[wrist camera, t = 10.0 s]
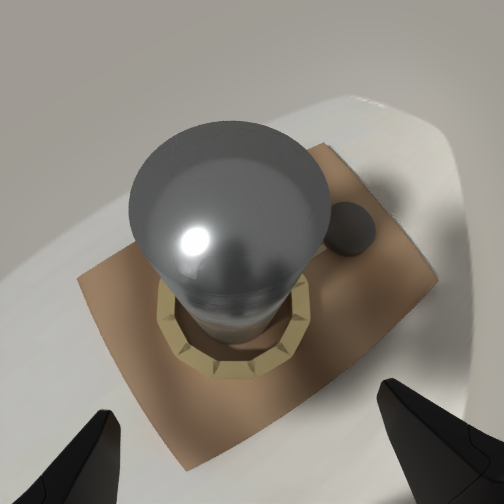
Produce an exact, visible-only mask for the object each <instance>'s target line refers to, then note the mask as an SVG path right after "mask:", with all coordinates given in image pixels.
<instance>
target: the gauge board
mask: <svg viewBox="0 0 504 504" xmlns="http://www.w3.org/2000/svg"><path fill="white" fill-rule="evenodd" d="M307 151H308V152H309V153H310V154H311V155H312V157H313V158H314V159H315V161H316V162H317V163H318V165H319V166H320V168H321V170H322V172H323V174H324V176H325V178H326V181H327V184H328V187H329V191H330V196H331V216H330V222H329V226H328V230H327V232H326V235H325V237H324V239H323V242H322V243H321V245H320V247H319V248H318V250H317V251H316V253H315V255H314V256H313V258H312V259H311V261H310V262H309V264H308V265H307V267H306V269H305V270H304V272H303V275H304V276H305V278H306V279H307V282H308V287H309V302H310V317H311V320H310V323H309V325H308V327H307V329H306V331H305V333H304V335H303V337H302V339H301V341H300V343H299V345H298V347H297V349H296V350H295V352H294V354H293V356H292V357H291V358H290V359H288V360H287V361H285V362H284V363H282V364H280V365H279V366H277V367H275V368H274V369H272V370H270V371H269V372H267V373H265V374H264V375H262V376H260V377H259V378H257V379H256V378H255V379H239V380H226V379H211V378H209V377H207V376H206V375H204V374H202V373H201V372H199V371H197V370H196V369H194V368H192V367H191V366H189V365H187V364H186V363H184V362H182V361H181V360H179V359H178V358H176V357H175V355H174V353H173V351H172V350H171V348H170V346H169V344H168V342H167V340H166V338H165V336H164V334H163V333H162V331H161V329H160V327H159V325H158V323H157V302H158V287H159V282H160V279H161V277H160V276H159V274H158V273H157V272H156V270H155V269H154V268H153V266H152V265H151V264H150V262H149V261H148V260H147V258H146V257H145V256H144V254H143V253H142V251H141V250H140V248H139V247H138V245H137V242H136V241H135V242H134V243H132V244H130V245H129V246H127V247H125V248H124V249H122V250H121V251H119V252H117V253H116V254H114V255H112V256H111V257H109V258H108V259H106V260H104V261H103V262H101V263H100V264H98V265H97V266H95V267H94V268H92V269H90V270H89V271H87V272H86V273H84V274H83V275H81V276H80V277H78V278H77V280H78V283H79V285H80V288H81V290H82V293H83V295H84V298H85V300H86V302H87V305H88V307H89V309H90V312H91V314H92V316H93V318H94V321H95V323H96V325H97V327H98V329H99V331H100V334H101V336H102V338H103V340H104V342H105V344H106V346H107V348H108V350H109V352H110V354H111V356H112V357H113V359H114V361H115V363H116V365H117V367H118V369H119V371H120V372H121V374H122V376H123V378H124V380H125V381H126V383H127V385H128V387H129V388H130V390H131V392H132V393H133V395H134V397H135V398H136V400H137V402H138V403H139V405H140V406H141V408H142V410H143V411H144V413H145V414H146V416H147V418H148V419H149V421H150V422H151V424H152V425H153V427H154V428H155V430H156V431H157V433H158V434H159V435H160V437H161V438H162V440H163V441H164V443H165V444H166V445H167V447H168V448H169V450H170V451H171V452H172V454H173V455H174V456H175V458H176V459H177V460H178V462H179V463H180V464H181V465H182V467H183V468H184V469H185V471H186V472H187V471H189V470H191V469H193V468H195V467H197V466H199V465H201V464H203V463H205V462H207V461H209V460H210V459H212V458H214V457H216V456H218V455H220V454H222V453H223V452H225V451H227V450H229V449H231V448H232V447H234V446H236V445H237V444H239V443H241V442H243V441H244V440H246V439H248V438H249V437H251V436H253V435H254V434H256V433H257V432H259V431H261V430H262V429H264V428H265V427H267V426H268V425H270V424H272V423H273V422H275V421H276V420H278V419H279V418H281V417H282V416H284V415H285V414H287V413H288V412H290V411H291V410H292V409H294V408H295V407H297V406H298V405H300V404H301V403H302V402H304V401H305V400H307V399H308V398H309V397H311V396H312V395H313V394H315V393H316V392H317V391H319V390H320V389H321V388H323V387H324V386H325V385H327V384H328V383H329V382H330V381H332V380H333V379H334V378H336V377H337V376H338V375H339V374H341V373H342V372H343V371H344V370H346V369H347V368H348V367H349V366H350V365H352V364H353V363H354V362H355V361H356V360H358V359H359V358H360V357H361V356H362V355H363V354H365V353H366V352H367V351H368V350H369V349H370V348H371V347H373V346H374V345H375V344H376V343H377V342H378V341H379V340H380V339H381V338H383V337H384V336H385V335H386V334H387V333H388V332H389V331H390V330H391V329H392V328H393V327H394V326H395V325H396V324H397V323H398V322H400V321H401V320H402V319H403V318H404V317H405V316H406V315H407V314H408V313H409V312H410V311H411V310H412V309H413V308H414V307H415V306H416V305H417V304H418V303H419V301H420V300H421V299H422V298H423V297H424V296H425V295H426V294H427V293H428V292H429V291H430V290H431V289H432V288H433V287H434V286H435V284H436V283H437V282H438V279H437V278H436V276H435V275H434V273H433V272H432V270H431V269H430V268H429V266H428V265H427V263H426V262H425V261H424V259H423V258H422V256H421V255H420V254H419V252H418V251H417V250H416V248H415V247H414V246H413V244H412V243H411V242H410V240H409V239H408V238H407V237H406V235H405V234H404V233H403V231H402V230H401V229H400V228H399V226H398V225H397V224H396V223H395V221H394V220H393V219H392V218H391V216H390V215H389V214H388V213H387V212H386V210H385V209H384V208H383V207H382V206H381V204H380V203H379V202H378V201H377V200H376V198H375V197H374V196H373V195H372V194H371V193H370V192H369V190H368V189H367V188H366V187H365V186H364V185H363V184H362V183H361V181H360V180H359V179H358V178H357V177H356V176H355V175H354V174H353V173H352V171H351V170H350V169H349V168H348V167H347V166H346V165H345V164H344V163H343V162H342V161H341V160H340V159H339V158H338V157H337V156H336V155H335V154H334V152H333V151H332V150H331V149H330V148H329V147H328V146H327V145H326V144H325V143H324V142H323V143H321V144H319V145H317V146H315V147H313V148H310V149H308V150H307ZM178 321H179V323H180V325H181V327H182V328H183V330H184V332H185V334H186V336H187V338H188V339H189V341H190V343H191V345H192V346H193V347H195V348H196V349H198V350H200V351H201V352H203V353H205V354H206V355H208V356H210V357H211V358H213V359H215V360H217V361H251V360H253V359H254V358H256V357H258V356H260V355H261V354H263V353H265V352H266V351H268V350H270V349H271V348H273V347H275V346H276V344H277V342H278V340H279V338H280V336H281V334H282V333H283V331H284V329H285V327H286V325H287V323H288V321H289V307H288V296H287V298H286V299H285V301H284V302H283V304H282V305H281V307H280V308H279V310H278V311H277V312H276V314H275V315H274V317H273V318H272V320H271V321H270V323H269V324H268V326H267V327H266V329H265V330H264V331H263V332H262V333H261V334H260V335H259V336H258V337H257V338H255V339H254V340H252V341H250V342H248V343H244V344H240V345H227V344H223V343H220V342H218V341H216V340H214V339H212V338H211V337H209V336H208V335H207V334H206V333H205V332H204V330H203V329H202V328H201V327H200V326H199V325H198V323H197V322H196V321H195V320H194V319H193V317H192V316H191V315H190V314H189V312H188V311H187V310H186V309H185V307H184V306H183V305H182V304H181V303H180V301H179V309H178Z"/></svg>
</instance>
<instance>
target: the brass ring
mask: <svg viewBox="0 0 504 504" xmlns="http://www.w3.org/2000/svg"><path fill="white" fill-rule="evenodd" d="M288 307H289V321H288V323H287V325H286V327H285V329H284V331H283V333H282V334H281V336H280V338H279V340H278V342H277V344H276V346H275V347H273V348H271V349H270V350H268V351H266V352H265V353H263V354H261V355H260V356H258V357H256V358H254V359H253V360H251V361H217V360H215V359H213V358H211V357H210V356H208V355H206V354H205V353H203V352H201V351H200V350H198V349H196V348H195V347H193V346H192V345H191V343H190V341H189V339H188V338H187V336H186V334H185V332H184V330H183V328H182V327H181V325H180V323H179V321H178V309H179V300H178V299H177V298H176V296H175V295H174V294H173V292H172V291H171V290H170V289H169V287H168V286H167V285H166V283H165V282H164V281H163V280H162V278H161V279H160V282H159V287H158V302H157V323H158V325H159V327H160V329H161V331H162V333H163V334H164V336H165V338H166V340H167V342H168V344H169V346H170V348H171V350H172V351H173V353H174V355H175V357H176V358H178V359H179V360H181V361H182V362H184V363H186V364H187V365H189V366H191V367H192V368H194V369H196V370H197V371H199V372H201V373H202V374H204V375H206V376H207V377H209V378H211V379H226V380H239V379H255V378H256V379H257V378H259V377H260V376H262V375H264V374H265V373H267V372H269V371H270V370H272V369H274V368H275V367H277V366H279V365H280V364H282V363H284V362H285V361H287V360H288V359H290V358H291V357H292V356H293V354H294V352H295V350H296V349H297V347H298V345H299V343H300V341H301V339H302V337H303V335H304V333H305V331H306V329H307V327H308V325H309V323H310V320H311V317H310V302H309V287H308V282H307V279H306V278H305V276H304V275H303V273H302V275H301V276H300V278H299V279H298V281H297V282H296V284H295V285H294V287H293V289H292V290H291V292H290V293H289V295H288Z"/></svg>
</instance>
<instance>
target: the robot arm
mask: <svg viewBox="0 0 504 504" xmlns="http://www.w3.org/2000/svg"><path fill="white" fill-rule="evenodd" d="M377 403H378V406H379V409H380V412H381V415H382V419H383V422H384V425H385V428H386V432H387V435H388V437H389V440H390V442H391V444H392V447H393V449H394V451H395V453H396V456H397V458H398V460H399V463H400V465H401V467H402V470H403V472H404V474H405V477H406V479H407V481H408V484H409V486H410V489H411V491H412V494H413V496H414V498H415V501H416V503H417V504H504V442H503V441H500V440H498V439H496V438H493V437H491V436H489V435H487V434H485V433H483V432H482V431H480V430H478V429H476V428H474V427H473V426H471V425H469V424H467V423H466V422H464V421H463V420H461V419H459V418H458V417H456V416H454V415H453V414H451V413H449V412H448V411H446V410H444V409H443V408H441V407H439V406H438V405H436V404H435V403H433V402H431V401H430V400H428V399H426V398H425V397H423V396H422V395H420V394H418V393H417V392H415V391H414V390H412V389H410V388H409V387H407V386H406V385H404V384H402V383H401V382H399V381H398V380H396V379H394V378H390V379H386V380H383V381H382V382H381V385H380V388H379V391H378V394H377ZM120 437H121V428H120V424H119V422H118V421H117V419H116V417H115V415H114V414H113V412H112V411H111V410H103V409H102V410H99V411H98V412H97V413H96V414H95V415H94V416H93V417H92V418H91V419H90V421H89V422H88V423H87V424H86V425H85V426H84V427H83V428H82V430H81V431H80V432H79V433H78V434H77V435H76V436H75V437H74V438H73V440H72V441H71V442H70V443H69V444H68V445H67V446H66V447H65V449H64V450H63V451H62V452H61V453H60V454H59V455H58V456H57V458H56V459H55V460H54V461H53V462H52V463H51V464H50V465H49V467H48V468H47V469H46V470H45V471H44V472H43V473H42V475H41V476H40V477H39V478H38V479H37V480H36V481H35V482H34V483H33V484H32V485H31V487H30V488H29V489H28V490H27V491H26V492H24V493H23V494H22V495H21V496H20V497H19V498H18V499H17V500H16V501H15V502H13V503H12V504H116V502H117V492H118V482H119V473H120Z"/></svg>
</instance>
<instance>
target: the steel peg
mask: <svg viewBox="0 0 504 504" xmlns="http://www.w3.org/2000/svg"><path fill="white" fill-rule="evenodd" d="M330 216H331V196H330V191H329V187H328V184H327V181H326V178H325V176H324V174H323V172H322V170H321V168H320V166H319V165H318V163H317V162H316V161H315V159H314V158H313V157H312V155H311V154H310V153H309V152H308V151H307V150H306V149H305V148H304V147H302V146H301V145H300V144H299V143H298V142H296V141H295V140H293V139H292V138H290V137H289V136H287V135H285V134H283V133H281V132H279V131H277V130H275V129H272V128H270V127H267V126H264V125H260V124H256V123H250V122H244V121H243V122H242V121H219V122H212V123H207V124H202V125H199V126H196V127H193V128H190V129H187V130H185V131H183V132H181V133H179V134H177V135H175V136H173V137H172V138H170V139H168V140H167V141H166V142H164V143H163V144H162V145H160V146H159V147H158V148H157V149H156V150H155V151H154V152H153V153H152V154H151V155H150V156H149V157H148V159H147V160H146V161H145V162H144V164H143V166H142V167H141V169H140V170H139V172H138V174H137V176H136V178H135V180H134V183H133V186H132V189H131V192H130V198H129V220H130V226H131V230H132V233H133V236H134V238H135V240H136V242H137V245H138V247H139V248H140V250H141V251H142V253H143V254H144V256H145V257H146V258H147V260H148V261H149V262H150V264H151V265H152V266H153V268H154V269H155V270H156V272H157V273H158V274H159V276H160V277H161V278H162V280H163V281H164V282H165V283H166V285H167V286H168V287H169V289H170V290H171V291H172V292H173V294H174V295H175V296H176V298H177V299H178V300H179V301H180V303H181V304H182V305H183V306H184V307H185V309H186V310H187V311H188V312H189V314H190V315H191V316H192V317H193V319H194V320H195V321H196V322H197V323H198V325H199V326H200V327H201V328H202V329H203V330H204V332H205V333H206V334H207V335H208V336H209V337H211V338H212V339H214V340H216V341H218V342H220V343H223V344H227V345H240V344H244V343H248V342H250V341H252V340H254V339H255V338H257V337H258V336H259V335H260V334H261V333H262V332H263V331H264V330H265V329H266V327H267V326H268V324H269V323H270V321H271V320H272V318H273V317H274V315H275V314H276V312H277V311H278V310H279V308H280V307H281V305H282V304H283V302H284V301H285V299H286V298H287V296H288V295H289V293H290V292H291V290H292V289H293V287H294V285H295V284H296V282H297V281H298V279H299V278H300V276H301V275H302V273H303V272H304V270H305V269H306V267H307V265H308V264H309V262H310V261H311V259H312V258H313V256H314V255H315V253H316V251H317V250H318V248H319V247H320V245H321V243H322V242H323V239H324V237H325V235H326V232H327V230H328V226H329V222H330Z"/></svg>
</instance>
